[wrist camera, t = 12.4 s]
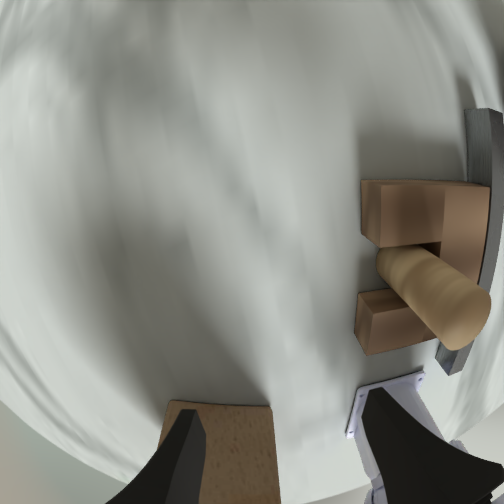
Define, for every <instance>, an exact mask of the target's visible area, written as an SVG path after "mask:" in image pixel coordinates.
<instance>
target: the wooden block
mask: <svg viewBox="0 0 504 504" xmlns="http://www.w3.org/2000/svg"><path fill="white" fill-rule="evenodd" d="M181 409H196V410H197V413H198V415H199V418H200V420H201V423H202V425H203V428H204V430H205V433H206V456H205V463H204V469H203V476H202V482H201V488H200V494H199V504H281V497H280V486H279V476H278V465H277V454H276V444H275V433H274V423H273V412H272V410H271V408H270V407H268V406H232V405H215V404H203V403H193V402H184V401H176V400H172V401H170V402H169V404H168V407H167V411H166V415H165V419H164V423H163V427H162V431H161V435H160V439H159V443H158V447H157V449H158V448H159V446H160V445H161V443H162V442H163V440H164V438H165V437H166V435H167V434H168V432H169V430H170V429H171V427H172V425H173V423H174V421H175V420H176V418H177V416H178V414H179V412H180V410H181Z"/></svg>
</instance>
